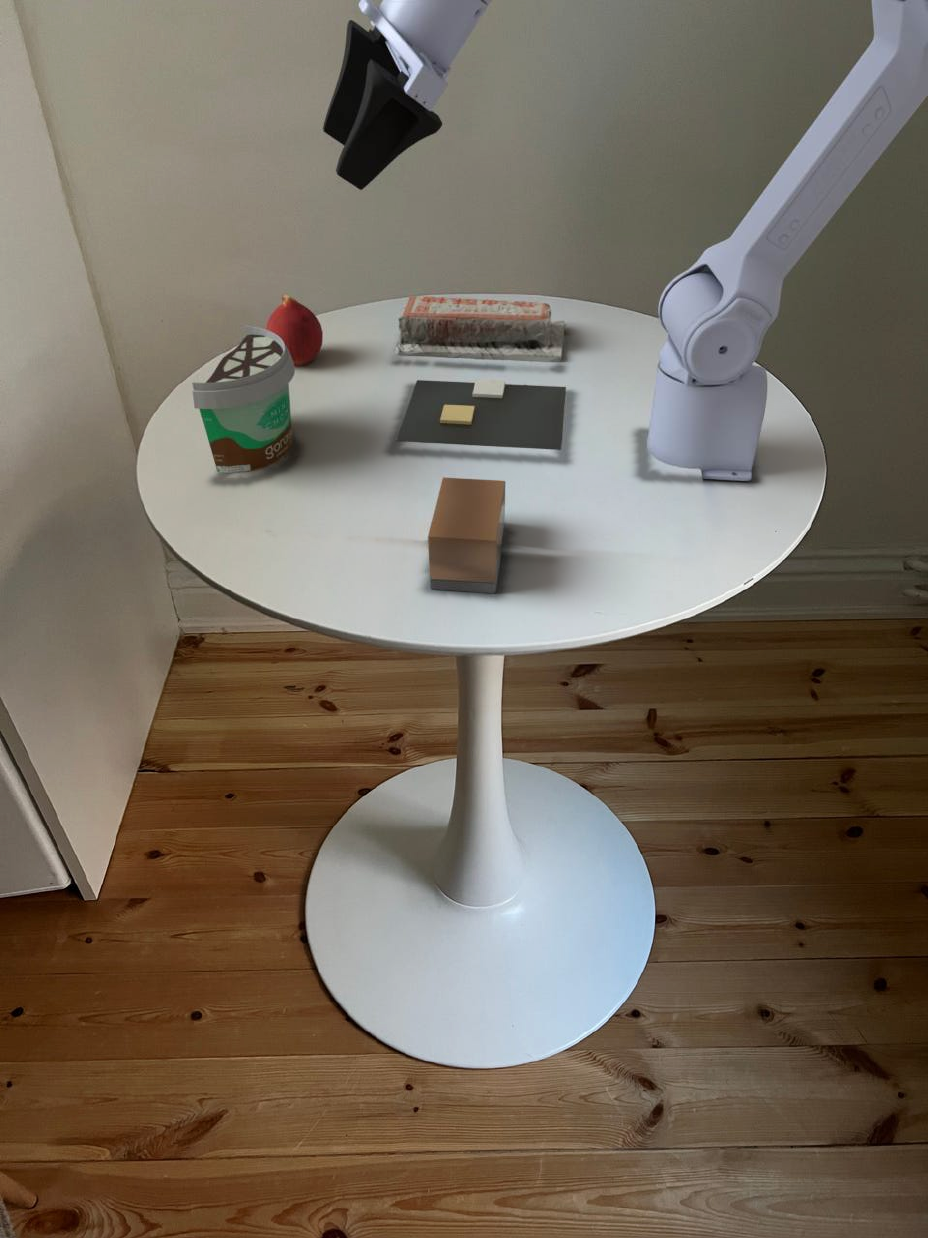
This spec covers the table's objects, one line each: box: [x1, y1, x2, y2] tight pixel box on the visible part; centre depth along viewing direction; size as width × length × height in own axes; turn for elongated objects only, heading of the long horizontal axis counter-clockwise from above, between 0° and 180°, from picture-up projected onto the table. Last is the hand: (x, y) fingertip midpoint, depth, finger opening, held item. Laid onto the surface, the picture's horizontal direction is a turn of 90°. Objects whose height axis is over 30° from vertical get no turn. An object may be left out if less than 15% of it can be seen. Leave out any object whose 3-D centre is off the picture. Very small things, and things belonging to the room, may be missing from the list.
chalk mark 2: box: [473, 379, 506, 398], centre depth 92 cm, size 3×3×1 cm
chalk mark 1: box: [440, 405, 475, 425], centre depth 88 cm, size 3×3×1 cm
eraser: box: [427, 477, 506, 594], centre depth 71 cm, size 5×8×5 cm, turn 173°
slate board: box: [395, 379, 567, 451], centre depth 89 cm, size 16×13×1 cm
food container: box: [192, 325, 296, 474], centre depth 82 cm, size 12×6×10 cm, turn 168°
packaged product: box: [394, 295, 565, 363], centre depth 100 cm, size 18×5×10 cm
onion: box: [265, 294, 324, 367], centre depth 96 cm, size 6×6×8 cm
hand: (341, 158), depth 66 cm, fingers open, 7 cm apart
